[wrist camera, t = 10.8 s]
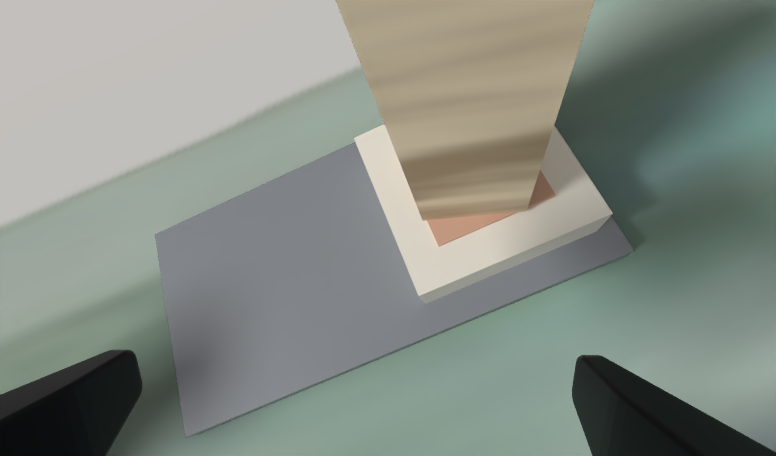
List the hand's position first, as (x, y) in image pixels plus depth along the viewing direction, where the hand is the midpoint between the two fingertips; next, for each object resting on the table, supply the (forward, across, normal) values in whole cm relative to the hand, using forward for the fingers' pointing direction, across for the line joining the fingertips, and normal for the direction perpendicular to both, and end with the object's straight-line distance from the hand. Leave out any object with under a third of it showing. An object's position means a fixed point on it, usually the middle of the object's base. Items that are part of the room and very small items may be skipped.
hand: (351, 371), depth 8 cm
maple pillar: (+12, -4, -2) cm, 13 cm away
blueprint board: (+14, +1, +2) cm, 15 cm away
